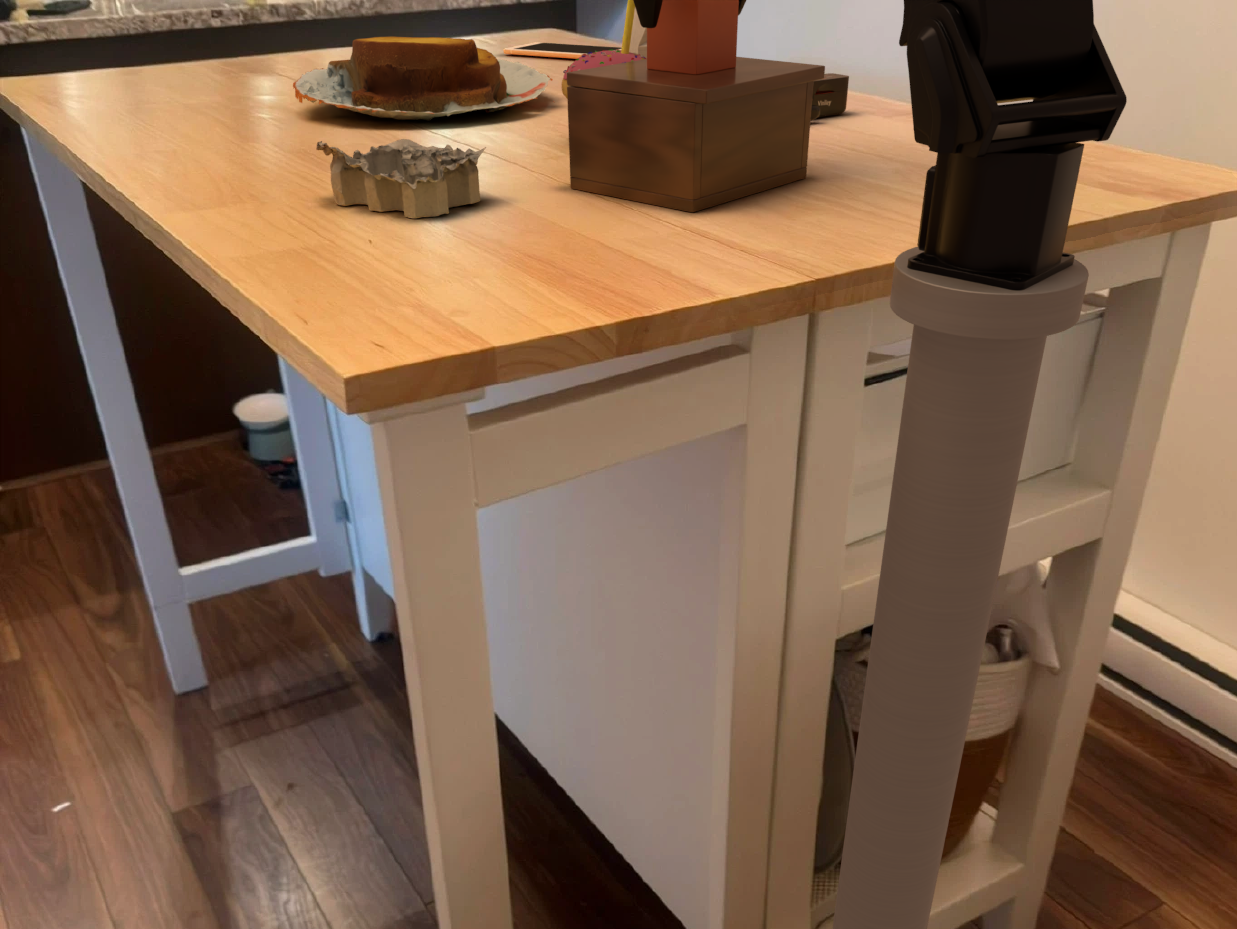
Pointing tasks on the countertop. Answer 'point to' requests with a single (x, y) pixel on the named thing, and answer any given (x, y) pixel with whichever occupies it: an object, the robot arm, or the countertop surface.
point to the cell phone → (556, 49)
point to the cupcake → (607, 52)
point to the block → (694, 36)
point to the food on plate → (420, 79)
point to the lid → (697, 79)
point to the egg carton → (405, 178)
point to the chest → (687, 145)
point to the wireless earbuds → (829, 95)
